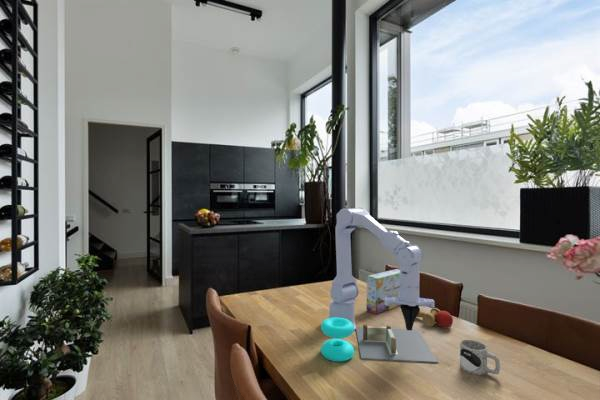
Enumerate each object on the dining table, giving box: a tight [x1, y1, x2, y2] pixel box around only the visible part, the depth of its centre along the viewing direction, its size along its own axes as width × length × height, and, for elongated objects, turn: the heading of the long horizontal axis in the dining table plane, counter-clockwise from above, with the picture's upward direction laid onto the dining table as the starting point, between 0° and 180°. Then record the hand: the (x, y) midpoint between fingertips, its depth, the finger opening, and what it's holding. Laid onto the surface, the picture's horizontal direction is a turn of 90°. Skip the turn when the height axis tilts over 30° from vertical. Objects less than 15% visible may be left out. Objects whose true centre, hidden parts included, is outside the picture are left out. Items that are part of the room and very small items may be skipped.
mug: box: [459, 339, 501, 376], centre depth 88 cm, size 10×7×7 cm, turn 37°
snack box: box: [365, 268, 400, 315], centre depth 137 cm, size 21×6×15 cm, turn 129°
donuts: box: [320, 317, 355, 362], centre depth 97 cm, size 10×10×10 cm
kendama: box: [416, 307, 454, 329], centre depth 122 cm, size 8×6×18 cm
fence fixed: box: [362, 324, 392, 341], centre depth 105 cm, size 9×1×5 cm, turn 84°
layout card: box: [355, 326, 439, 364], centre depth 104 cm, size 22×22×1 cm
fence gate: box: [387, 328, 396, 354], centre depth 100 cm, size 8×1×4 cm, turn 174°
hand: (408, 329), depth 98 cm, fingers closed
